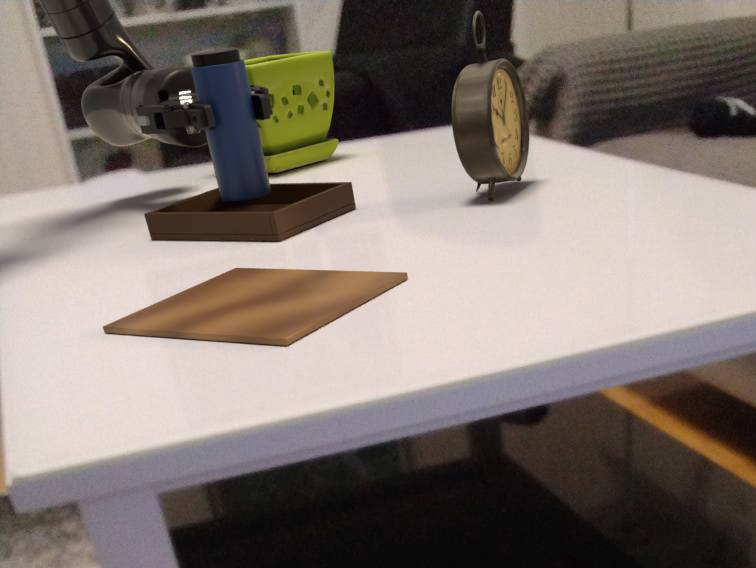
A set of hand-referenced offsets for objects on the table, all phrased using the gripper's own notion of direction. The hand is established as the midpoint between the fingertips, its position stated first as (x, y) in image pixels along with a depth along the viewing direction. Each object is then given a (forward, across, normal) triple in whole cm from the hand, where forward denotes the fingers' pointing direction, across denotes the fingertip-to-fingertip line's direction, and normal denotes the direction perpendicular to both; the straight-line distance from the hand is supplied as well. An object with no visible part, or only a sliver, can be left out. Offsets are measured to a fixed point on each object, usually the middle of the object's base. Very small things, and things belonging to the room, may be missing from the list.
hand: (238, 112), depth 99 cm
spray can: (-3, 0, +8) cm, 8 cm away
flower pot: (-34, +18, +11) cm, 40 cm away
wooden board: (+27, -13, +11) cm, 32 cm away
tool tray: (-3, 0, +11) cm, 11 cm away
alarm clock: (+11, +22, +11) cm, 27 cm away
